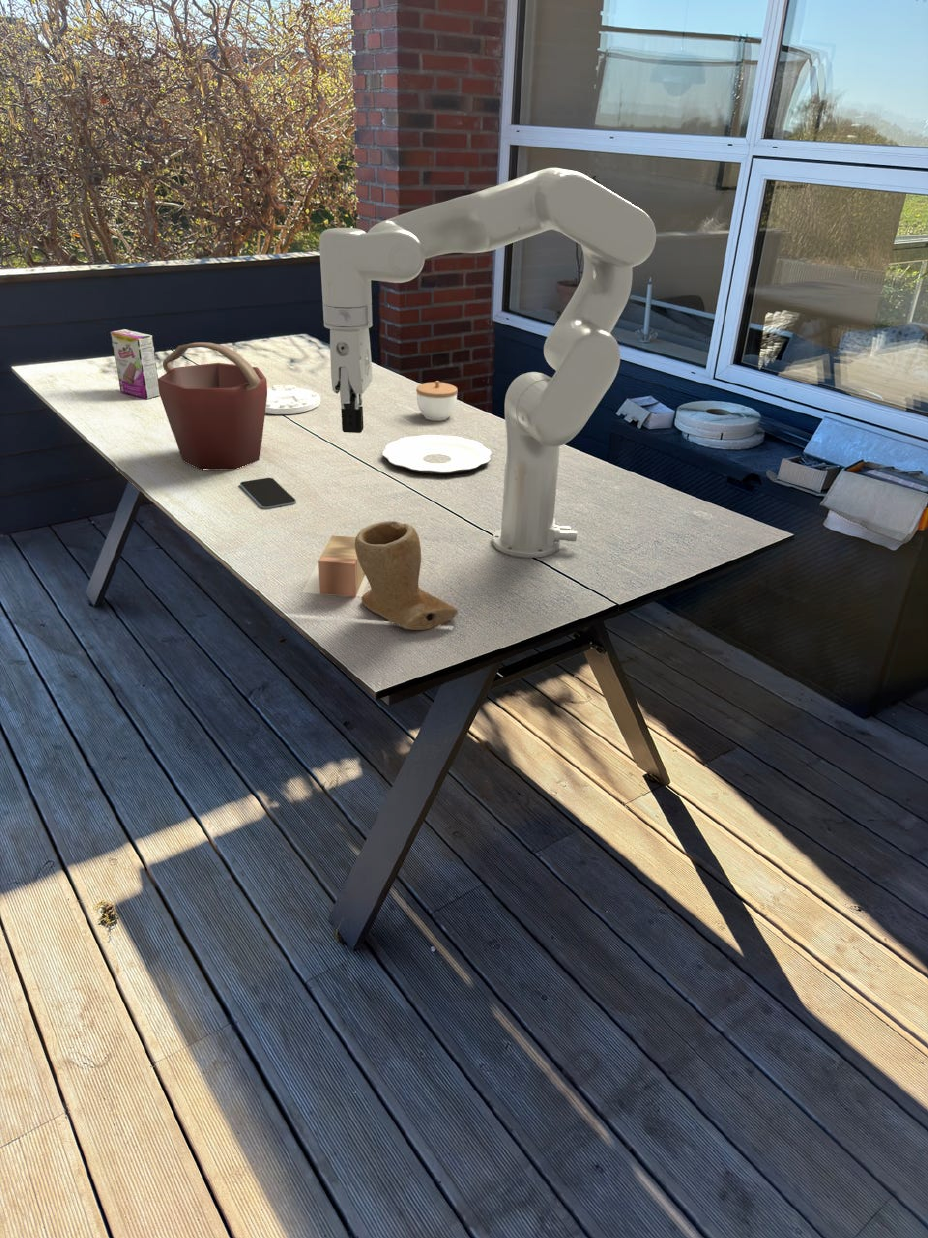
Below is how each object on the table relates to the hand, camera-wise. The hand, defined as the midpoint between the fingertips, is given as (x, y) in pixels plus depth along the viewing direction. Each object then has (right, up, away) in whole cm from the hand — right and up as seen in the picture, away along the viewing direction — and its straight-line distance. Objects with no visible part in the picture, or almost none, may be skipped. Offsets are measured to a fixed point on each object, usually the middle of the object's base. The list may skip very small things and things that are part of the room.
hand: (353, 430), depth 147 cm
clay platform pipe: (+8, -31, -5) cm, 32 cm away
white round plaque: (-31, +26, +93) cm, 102 cm away
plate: (+12, +6, +60) cm, 62 cm away
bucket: (-36, +6, +56) cm, 67 cm away
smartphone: (-22, -6, +38) cm, 44 cm away
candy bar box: (-70, +30, +97) cm, 123 cm away
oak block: (-1, -20, +7) cm, 21 cm away
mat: (-2, -22, +9) cm, 24 cm away
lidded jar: (+11, +22, +88) cm, 91 cm away
